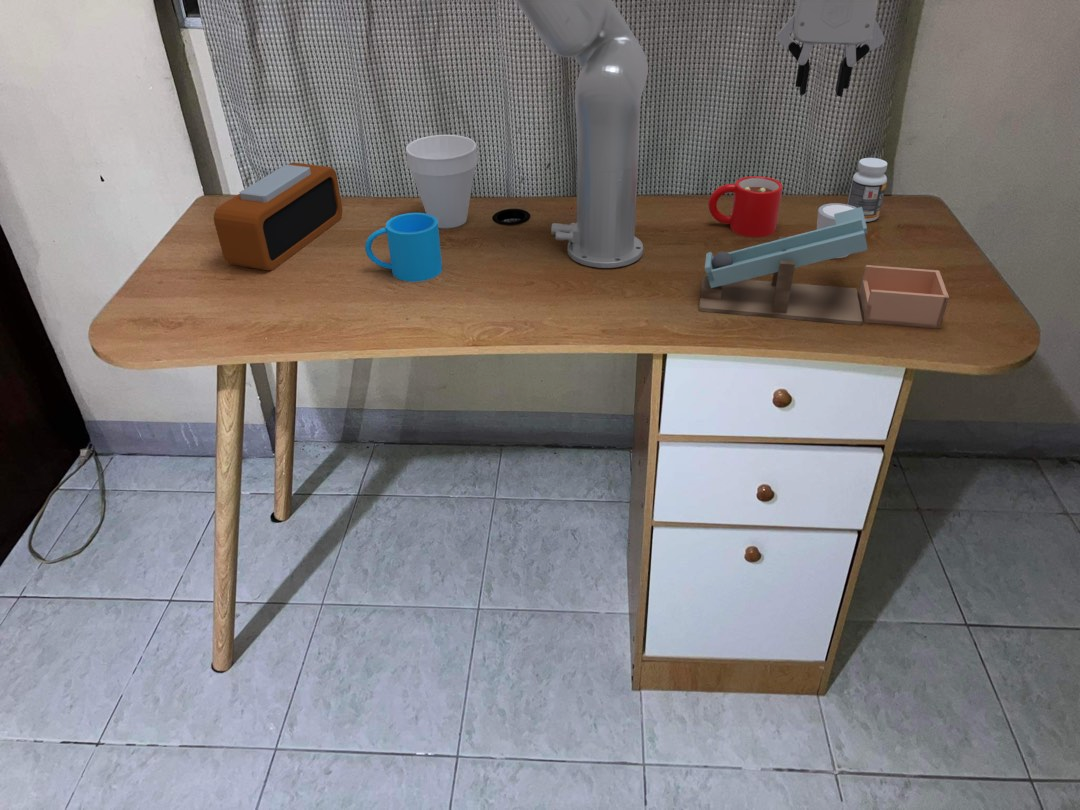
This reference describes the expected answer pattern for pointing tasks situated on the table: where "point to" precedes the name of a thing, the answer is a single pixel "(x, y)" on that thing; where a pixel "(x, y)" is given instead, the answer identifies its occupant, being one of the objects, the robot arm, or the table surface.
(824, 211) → the white cylinder
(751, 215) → the mug
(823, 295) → the launcher base
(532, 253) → the table surface
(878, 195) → the pill bottle
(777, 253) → the lever
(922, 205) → the table surface
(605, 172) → the robot arm
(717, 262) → the ball
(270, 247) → the alarm clock
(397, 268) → the mug
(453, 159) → the white flower pot
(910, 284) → the pink open box
